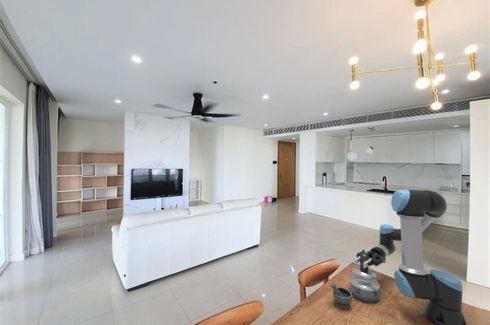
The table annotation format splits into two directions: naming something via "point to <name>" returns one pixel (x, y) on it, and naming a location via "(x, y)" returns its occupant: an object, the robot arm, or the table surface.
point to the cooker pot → (364, 289)
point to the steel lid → (364, 272)
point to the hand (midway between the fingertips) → (359, 263)
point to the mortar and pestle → (341, 296)
